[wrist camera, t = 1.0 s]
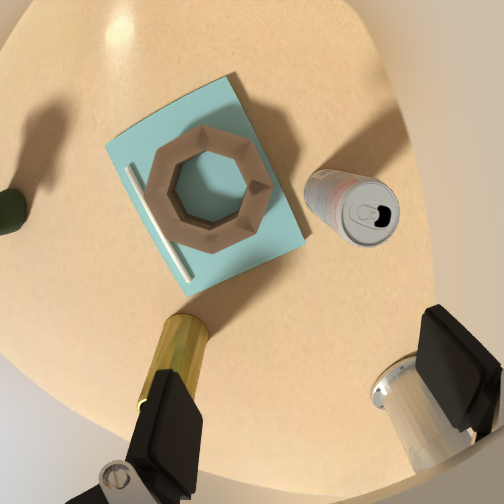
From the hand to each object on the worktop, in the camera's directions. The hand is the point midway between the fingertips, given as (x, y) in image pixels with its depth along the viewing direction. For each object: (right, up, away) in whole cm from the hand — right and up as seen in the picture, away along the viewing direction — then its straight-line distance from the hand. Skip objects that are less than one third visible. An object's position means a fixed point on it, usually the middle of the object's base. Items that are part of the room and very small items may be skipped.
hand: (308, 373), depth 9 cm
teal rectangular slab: (-7, +11, +21) cm, 24 cm away
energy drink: (+6, +11, +21) cm, 25 cm away
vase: (-11, -6, +27) cm, 29 cm away
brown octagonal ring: (-6, +11, +19) cm, 23 cm away
